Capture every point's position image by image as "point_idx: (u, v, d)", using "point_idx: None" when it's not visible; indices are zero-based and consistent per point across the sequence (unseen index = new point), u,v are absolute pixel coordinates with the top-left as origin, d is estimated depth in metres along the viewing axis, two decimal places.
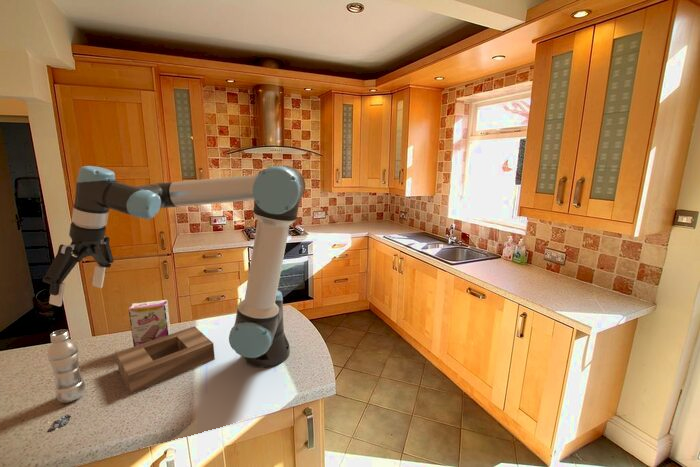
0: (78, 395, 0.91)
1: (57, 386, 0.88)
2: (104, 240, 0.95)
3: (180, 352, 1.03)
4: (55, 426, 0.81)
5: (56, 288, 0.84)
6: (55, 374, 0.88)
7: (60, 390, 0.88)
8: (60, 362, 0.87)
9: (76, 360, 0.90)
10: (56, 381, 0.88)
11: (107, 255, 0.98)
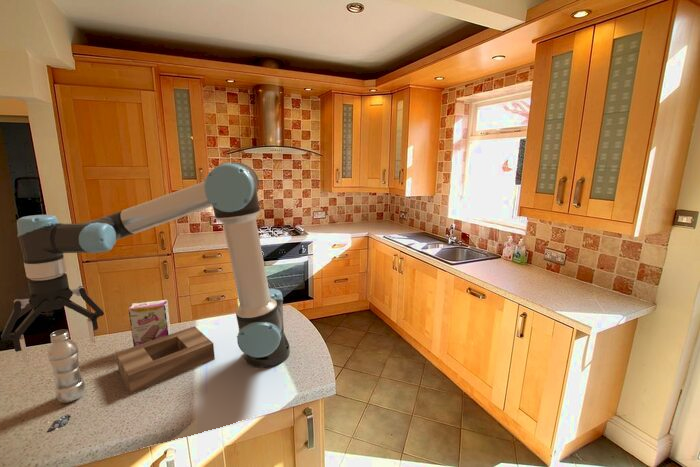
0: (78, 395, 0.91)
1: (57, 386, 0.88)
2: (79, 291, 0.89)
3: (180, 352, 1.03)
4: (55, 426, 0.81)
5: (15, 344, 0.81)
6: (55, 374, 0.88)
7: (60, 390, 0.88)
8: (60, 362, 0.87)
9: (76, 360, 0.90)
10: (56, 381, 0.88)
11: (91, 307, 0.91)
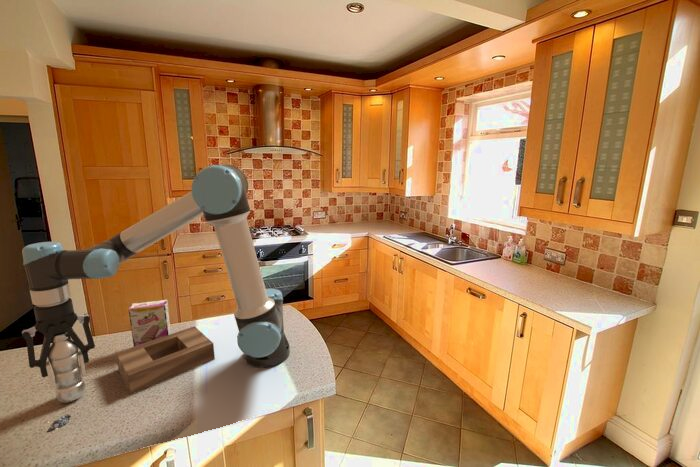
0: (79, 395, 0.91)
1: (57, 386, 0.88)
2: (83, 319, 0.91)
3: (180, 352, 1.03)
4: (55, 426, 0.81)
5: (41, 370, 0.86)
6: (55, 374, 0.88)
7: (60, 390, 0.88)
8: (60, 362, 0.87)
9: (76, 360, 0.90)
10: (56, 381, 0.88)
11: (86, 338, 0.92)
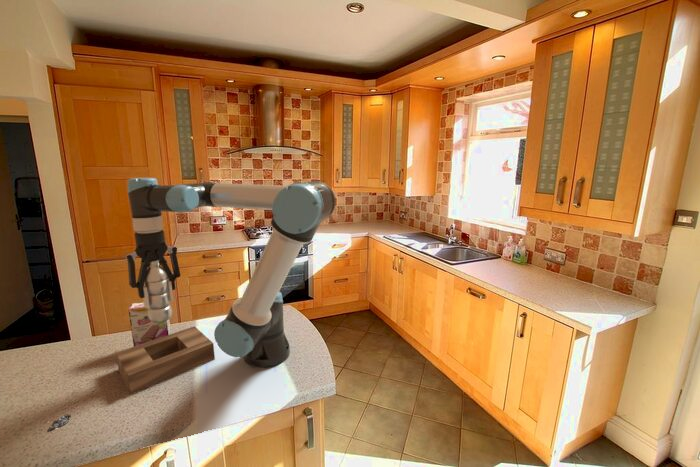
0: (168, 316, 1.02)
1: (151, 307, 1.00)
2: (172, 249, 1.02)
3: (180, 352, 1.03)
4: (55, 426, 0.81)
5: (140, 292, 0.97)
6: (150, 296, 0.99)
7: (154, 311, 1.00)
8: (155, 285, 0.98)
9: (166, 285, 1.02)
10: (150, 303, 1.00)
11: (174, 267, 1.03)
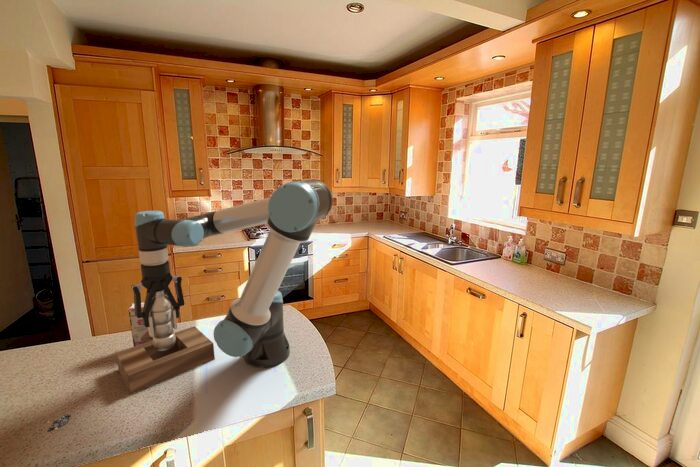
0: (172, 344, 1.05)
1: (156, 336, 1.02)
2: (177, 279, 1.05)
3: (180, 352, 1.03)
4: (55, 425, 0.82)
5: (145, 321, 1.00)
6: (154, 325, 1.02)
7: (158, 339, 1.02)
8: (160, 314, 1.01)
9: (170, 314, 1.04)
10: (155, 331, 1.02)
11: (178, 296, 1.06)
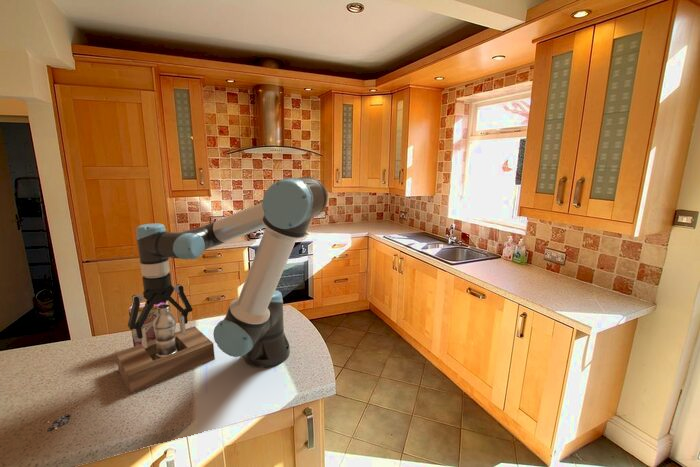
0: None
1: (159, 352, 1.04)
2: (178, 288, 1.05)
3: (180, 352, 1.03)
4: (55, 425, 0.82)
5: (138, 332, 0.99)
6: (158, 341, 1.03)
7: (161, 356, 1.04)
8: (164, 331, 1.02)
9: (174, 331, 1.06)
10: (158, 348, 1.04)
11: (184, 303, 1.07)
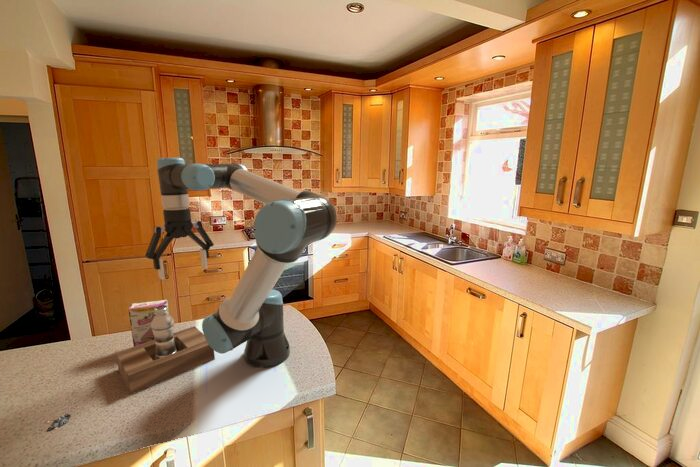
0: None
1: (158, 353, 1.04)
2: (197, 224, 1.08)
3: (180, 352, 1.03)
4: (55, 425, 0.82)
5: (156, 263, 0.99)
6: (157, 342, 1.03)
7: (160, 356, 1.03)
8: (162, 332, 1.02)
9: (173, 331, 1.05)
10: (157, 349, 1.03)
11: (205, 238, 1.10)
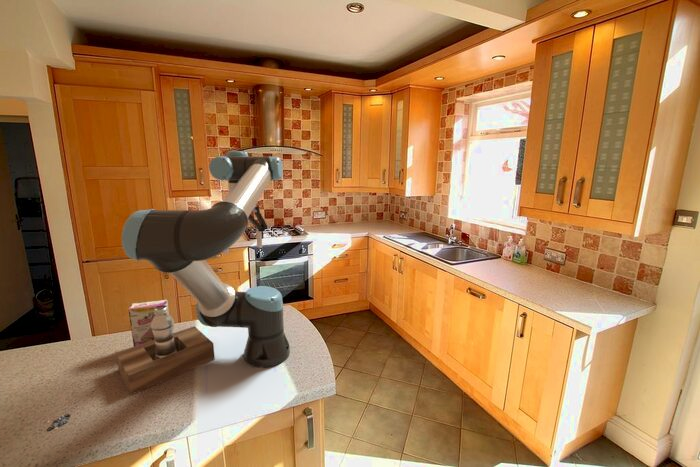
0: None
1: (158, 353, 1.04)
2: (255, 208, 1.25)
3: (180, 352, 1.03)
4: (54, 425, 0.82)
5: None
6: (157, 342, 1.03)
7: (160, 356, 1.03)
8: (162, 332, 1.02)
9: (173, 331, 1.05)
10: (157, 349, 1.03)
11: (261, 221, 1.27)
